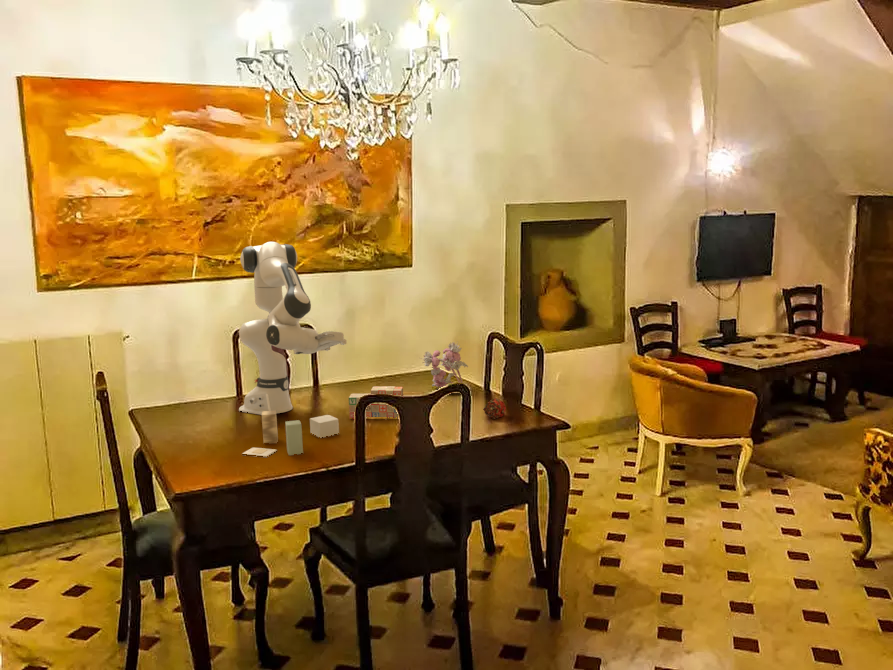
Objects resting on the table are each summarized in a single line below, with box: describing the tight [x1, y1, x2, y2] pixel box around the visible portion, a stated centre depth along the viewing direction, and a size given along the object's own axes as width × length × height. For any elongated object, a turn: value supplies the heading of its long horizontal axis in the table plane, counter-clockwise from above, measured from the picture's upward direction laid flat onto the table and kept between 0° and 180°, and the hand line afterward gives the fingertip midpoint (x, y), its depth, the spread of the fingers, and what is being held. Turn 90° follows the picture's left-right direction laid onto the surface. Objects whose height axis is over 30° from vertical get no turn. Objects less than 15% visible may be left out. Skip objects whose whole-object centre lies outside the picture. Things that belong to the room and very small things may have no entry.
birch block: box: [261, 411, 279, 444], centre depth 318 cm, size 5×5×11 cm
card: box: [241, 446, 278, 458], centre depth 306 cm, size 10×7×1 cm
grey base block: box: [309, 414, 340, 439], centre depth 326 cm, size 8×8×6 cm
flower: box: [419, 341, 469, 389], centre depth 382 cm, size 20×22×25 cm
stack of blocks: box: [348, 385, 404, 420], centre depth 345 cm, size 21×6×12 cm, turn 84°
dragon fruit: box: [482, 397, 507, 420], centre depth 341 cm, size 8×8×12 cm
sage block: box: [285, 419, 304, 456], centre depth 305 cm, size 5×5×11 cm
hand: (337, 345), depth 323 cm, fingers open, 8 cm apart
